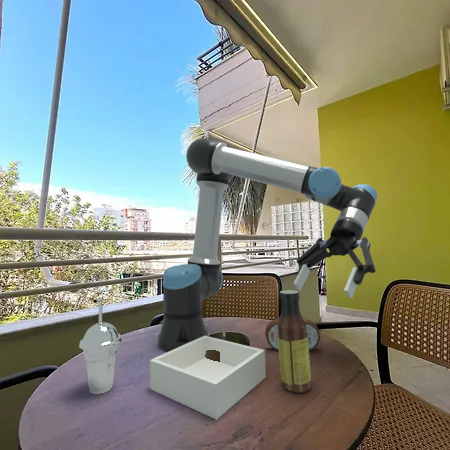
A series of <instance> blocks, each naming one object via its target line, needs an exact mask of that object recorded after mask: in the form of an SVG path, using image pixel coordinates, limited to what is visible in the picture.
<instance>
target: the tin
mask: <svg viewBox="0 0 450 450" xmlns="http://www.w3.org/2000/svg"><path fill="white" fill-rule="evenodd" d="M278 319H279V318H275V319H273V320H271V321H269V322H268V324H267V325H266V327H265V331H264V333H265V338H266V341H267V343H268V345H269V346H270V347H271V348H272V349H274V350H276V351H279V344H278ZM303 320H304V322H305V323H306V330H307V336H308V347H309V352H310V351H313V350H315V349H316V348H317V347H318V345H320V344H319V343H320V341H321V333H320V330H319V328H318V326H317V325H316V323H315V322H313V321H312V320H310V319H306V318H303Z"/></svg>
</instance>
